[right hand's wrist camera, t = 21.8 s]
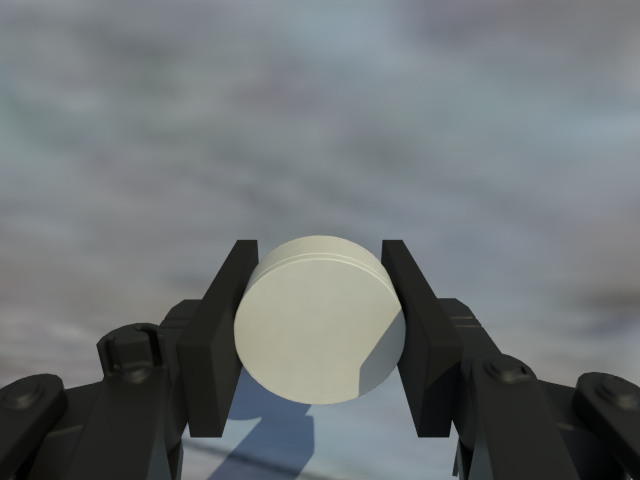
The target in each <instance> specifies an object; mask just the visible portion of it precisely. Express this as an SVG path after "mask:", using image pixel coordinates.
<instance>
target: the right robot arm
mask: <svg viewBox="0 0 640 480" xmlns="http://www.w3.org/2000/svg"><path fill="white" fill-rule="evenodd" d="M258 264H259V261H258V245H257V240H237V242H236V243H235V245H234V247H233V248H232V250H231V252H230V253H229V255H228V257H227V258H226V260H225V262H224V264H223V265H222V267H221V269H220V270H219V272H218V274H217V275H216V277H215V279H214V280H213V282H212V284H211V285H210V287H209V289H208V290H207V292H206V294H205V295H204V297H203V299H202V300H183V301H182V302H180V303H179V304H177V305H176V306H174V307H173V308H172V309H171V310H170V311H169V313H168V314H167V315H166V317H165V320H163V321H162V322H161V324H160V325H159V326H158V325H155V324H151V323H135V324H131V325H126V326H123V327H120V328H118V329H115V330H113V331H111V332H110V333H108V334H106V335H105V336H103V337H102V338H101V339H100V341H99V342H98V343H97V344H96V345H97V349H98V353H99V357H100V361H101V365H102V369H103V373H104V378H103V380H102V381H100V382H97V383H93V384H89V385H84V386H79V387H75V388H70V389H65V388H64V385H63V382H62V379H60V378H59V377H58V376H57V375H52V374H39V375H32V376H28V377H26V378H22V379H19V380H17V381H15V382H13V383H11V384H9V385H7V386H5V387H3V388H2V389H0V480H181V472H182V463H183V453H184V452H183V445H182V439H181V436H182V434H183V431H184V429H185V426H186V424H187V422H188V425H189V431H190V437H222V434H223V431H224V427H225V424H226V420H227V417H228V413H229V410H230V407H231V403H232V400H233V396H234V393H235V390H236V386H237V383H238V379H239V376H240V372H241V369H242V366H243V364H242V362H241V360H240V358H239V355H238V353H237V350H236V346H235V336H234V320H235V316H236V312H237V309H238V307H239V304H240V302H241V299H242V297H243V294H244V292H245V289H246V287H247V284H248V282H249V279H250V277H251V275H252V273H253V271H254V269H255V268H256V266H257V265H258ZM381 264H382V265H383V267H384V268H385V270H386V272H387V273H388V275H389V277H390V280H391V282H392V285H393V287H394V290H395V292H396V295H397V297H398V300H399V302H400V305H401V307H402V310H403V313H404V317H405V322H406V333H405V343H404V349H403V352H402V355H401V357H400V359H399V361H398V363H397V366H398V370H399V373H400V377H401V380H402V383H403V387H404V390H405V394H406V397H407V401H408V404H409V407H410V411H411V414H412V418H413V421H414V424H415V428H416V431H417V435H418V437H449V435H450V429H451V423H452V420H453V423H454V425H455V428H456V430H457V432H458V435H459V439H458V445H457V450H456V456H455V462H454V468H453V475H452V476H457V475H458V471H459V480H631V478H632V479H633V480H640V388H639V387H638V386H637V385H635V384H633V383H631V382H629V381H627V380H625V379H623V378H620V377H618V376H614V375H611V374H607V373H599V372H590V373H584V374H583V375H581V376H580V377H579V378H578V381H577V384H576V387H575V388H573V387H568V386H563V385H559V384H554V383H549V382H545V381H542V380H538V379H537V377H536V375H535V374H534V372H533V371H532V370H531V368H530V367H528V366H527V365H526V364H524V363H523V362H522V361H520V360H518V359H516V358H514V357H512V356H509V355H505V354H502V353H501V352H500V350H499V349H498V348H497V346H496V345H495V343H494V342H493V341H492V339H491V338H490V336H489V335H488V334H487V332H486V331H485V330H484V328H483V327H481V324H480V323H479V321H478V320H477V319H475V316H474V314H473V313H472V312H471V310H470V309H469V307H468V306H466V305H465V304H463V303H462V302H460V301H459V300H457V299H456V298H436V296H435V294H434V293H433V291H432V289H431V287H430V286H429V284H428V282H427V281H426V279H425V277H424V276H423V274H422V272H421V271H420V269H419V267H418V266H417V264H416V262H415V261H414V259H413V257H412V256H411V254H410V252H409V250H408V249H407V247H406V245H405V244H404V242H403V240H383V241H382V257H381Z"/></svg>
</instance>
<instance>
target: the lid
mask: <svg viewBox="0 0 640 480" xmlns="http://www.w3.org/2000/svg"><path fill="white" fill-rule="evenodd" d="M405 333H406V322H405V317H404V313H403V310H402V307H401V305H400V302H399V300H398V297H397V295H396V292H395V290H394V287H393V285H392V282H391V280H390V277H389V275H388V273H387V272H386V270H385V268H384V267H383V265H382V264H381V263H380V262H379V260H378V259H377V258H376V257H375V256H373V255H372V254H371V253H370V252H369V251H367V250H366V249H365V248H363V247H361V246H359V245H357V244H356V243H353V242H351V241H348V240H345V239H342V238H338V237H332V236H308V237H302V238H298V239H294V240H292V241H289V242H286V243H284V244H282V245H280V246H279V247H277V248H275V249H274V250H273V251H271V252H270V253H268V254H267V255H266V256H265V257H264V258H263V259H262V260H261V261H260V263H259V264H258V265H257V266H256V268H255V269H254V271H253V273H252V275H251V277H250V279H249V282H248V284H247V287H246V289H245V292H244V294H243V297H242V299H241V302H240V304H239V307H238V309H237V312H236V316H235V320H234V336H235V346H236V350H237V353H238V355H239V358H240V360H241V362H242V364H243V365H244V367H245V369H246V370H247V371H248V373H249V374H250V375H251V376H252V377H253V378H254V379H255V380H256V381H257V382H258V383H259V384H260V385H262V386H263V387H264V388H266V389H267V390H269V391H270V392H272V393H274V394H276V395H278V396H280V397H282V398H285V399H288V400H291V401H294V402H299V403H304V404H313V405H327V404H336V403H341V402H345V401H349V400H352V399H355V398H357V397H359V396H362V395H364V394H366V393H367V392H369V391H371V390H373V389H374V388H375V387H377V386H378V385H379V384H381V383H382V382H383V381H384V380H385V379H386V378H387V377H388V376H389V375H390V373H391V372H392V371H393V370H394V368H395V366H396V365H397V363H398V361H399V359H400V357H401V355H402V352H403V349H404V343H405Z"/></svg>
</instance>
